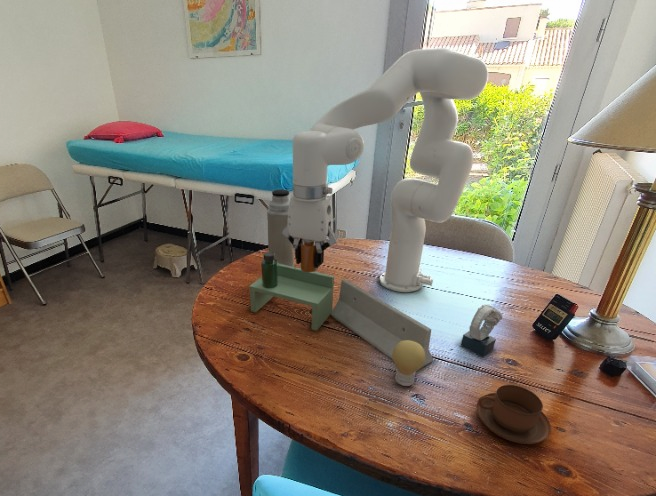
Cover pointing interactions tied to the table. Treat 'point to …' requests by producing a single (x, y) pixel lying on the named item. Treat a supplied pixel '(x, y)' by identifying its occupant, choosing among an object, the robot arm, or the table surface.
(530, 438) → the cup and saucer
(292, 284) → the spice rack
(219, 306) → the table surface
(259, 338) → the table surface
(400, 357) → the light bulb
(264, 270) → the green bottle
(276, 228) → the thermos bottle
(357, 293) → the barrier
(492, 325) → the watch
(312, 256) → the amber bottle
